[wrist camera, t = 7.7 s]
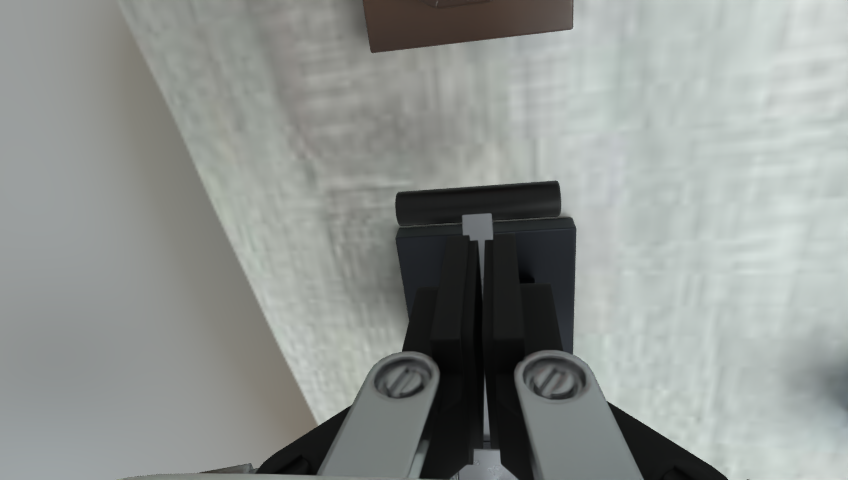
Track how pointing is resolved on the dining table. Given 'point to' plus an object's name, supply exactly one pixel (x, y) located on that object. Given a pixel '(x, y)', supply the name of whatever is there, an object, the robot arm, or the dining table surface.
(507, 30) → the button box
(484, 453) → the lever
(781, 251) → the dining table surface
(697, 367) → the dining table surface
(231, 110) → the dining table surface
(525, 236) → the bracket
